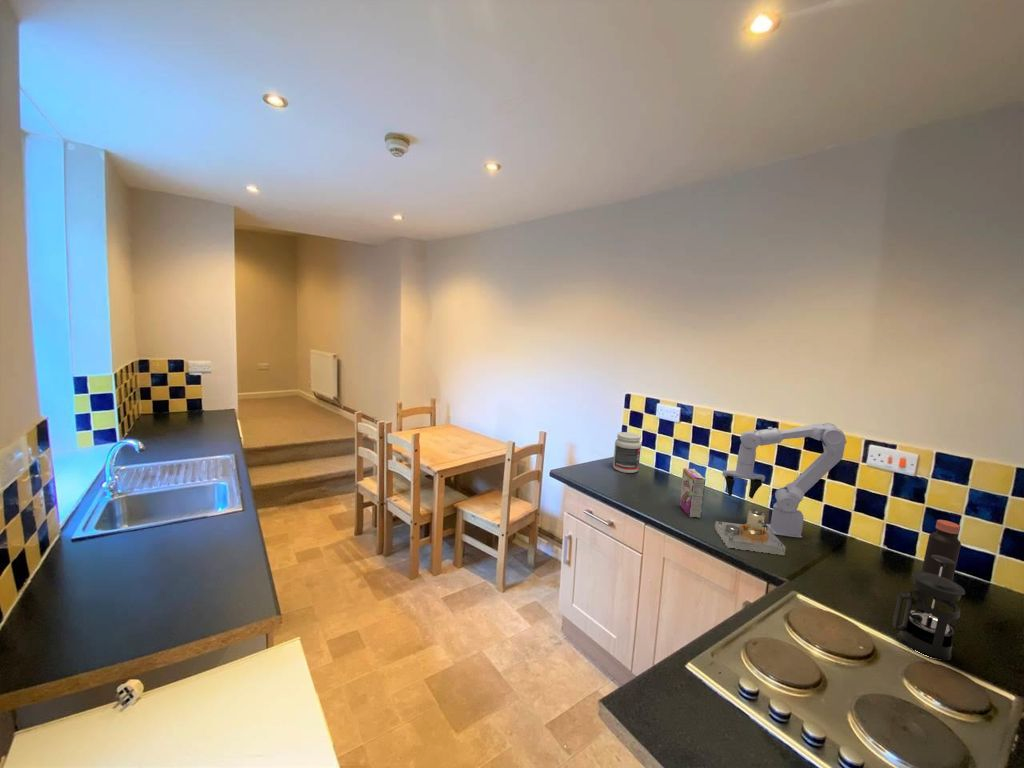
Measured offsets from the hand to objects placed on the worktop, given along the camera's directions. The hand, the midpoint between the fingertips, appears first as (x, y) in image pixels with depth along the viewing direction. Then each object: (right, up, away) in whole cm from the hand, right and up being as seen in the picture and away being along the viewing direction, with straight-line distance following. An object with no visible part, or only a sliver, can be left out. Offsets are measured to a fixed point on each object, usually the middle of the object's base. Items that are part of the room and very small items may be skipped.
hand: (740, 496), depth 164 cm
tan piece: (-3, -10, -16) cm, 19 cm away
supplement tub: (-30, -1, +54) cm, 62 cm away
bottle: (+41, -18, -34) cm, 57 cm away
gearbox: (-5, -12, -14) cm, 19 cm away
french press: (+12, -21, -61) cm, 65 cm away
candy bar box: (-16, -9, +8) cm, 20 cm away
